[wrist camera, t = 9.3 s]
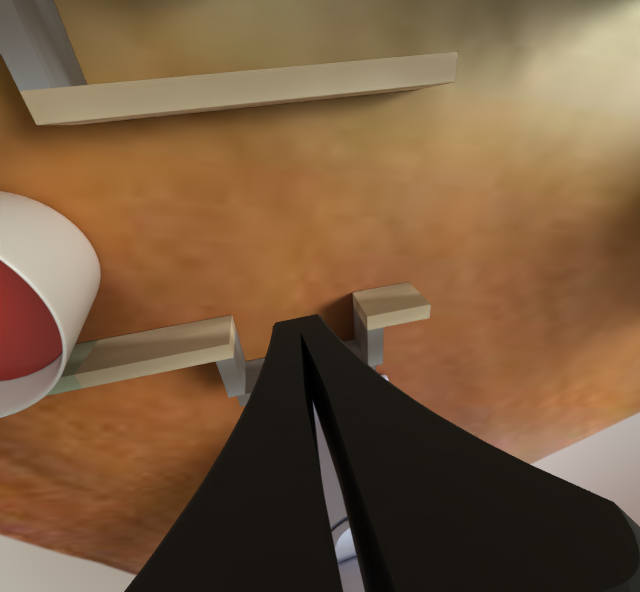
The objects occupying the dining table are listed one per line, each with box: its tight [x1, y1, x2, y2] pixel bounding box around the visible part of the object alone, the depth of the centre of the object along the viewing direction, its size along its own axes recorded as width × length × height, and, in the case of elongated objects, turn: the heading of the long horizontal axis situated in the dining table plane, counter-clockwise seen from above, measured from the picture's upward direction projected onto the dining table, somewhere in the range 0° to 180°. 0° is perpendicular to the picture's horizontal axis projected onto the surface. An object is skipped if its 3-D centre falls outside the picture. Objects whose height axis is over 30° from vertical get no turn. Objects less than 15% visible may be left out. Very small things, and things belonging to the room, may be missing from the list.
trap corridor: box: [0, 0, 458, 406], centre depth 15 cm, size 22×26×3 cm
